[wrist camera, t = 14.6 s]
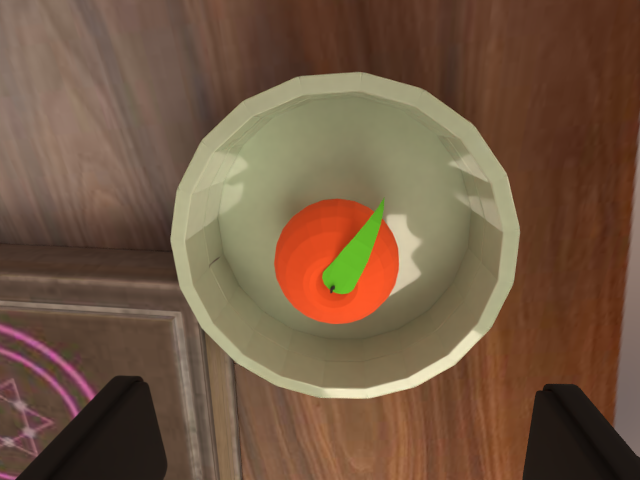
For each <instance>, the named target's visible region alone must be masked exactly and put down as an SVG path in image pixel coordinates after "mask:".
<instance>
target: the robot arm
mask: <svg viewBox="0 0 640 480" xmlns="http://www.w3.org/2000/svg"><path fill="white" fill-rule="evenodd" d="M167 464H168V463H167V457H166V453H165V449H164V445H163V441H162V437H161V433H160V429H159V425H158V420H157V416H156V412H155V408H154V404H153V400H152V396H151V392H150V388H149V385H148V383H147V382H144V380H143V378H142V377H141V376H126V375H118V376H115V377H113V378H112V379H111V380H110V381H109V382H108V383H107V384H106V385H105V386H104V387H103V388H102V389H101V390H100V392H99V393H98V394H97V395H96V396H95V397H94V398H93V399H92V400H91V401H90V402H89V403H88V404H87V405H86V406H85V407H84V408H83V409H82V410H81V411H80V412H79V413H78V414H77V416H76V417H75V418H74V419H73V420H72V421H71V422H70V423H69V424H68V425H67V426H66V427H65V428H64V429H63V430H62V431H61V432H60V433H59V434H58V435H57V436H56V437H55V438H54V439H53V441H52V442H51V443H50V444H49V445H48V446H47V447H46V448H45V449H44V450H43V451H42V452H41V453H40V454H39V455H38V456H37V457H36V458H35V459H34V460H33V461H32V462H31V463H30V465H29V466H28V467H27V468H26V469H25V470H24V471H23V472H22V473H21V474H20V475H19V476H18V477H17V478H16V479H15V480H163V479H164V477H165V475H166V472H167ZM523 480H640V457H638V456H636V454H635V453H634V452H633V451H632V450H631V448H630V447H629V446H628V445H627V444H626V442H625V441H624V440H623V439H622V438H621V436H619V434H618V433H617V432H616V431H615V429H614V428H613V427H612V426H611V425H610V423H609V422H608V421H607V420H606V419H605V417H604V416H603V415H602V414H601V413H600V411H599V410H598V409H597V408H596V407H595V406H594V404H593V403H592V402H591V401H590V400H589V398H588V397H587V396H586V395H585V394H584V392H583V391H582V390H581V389H580V388H579V387H578V386H576V385H574V384H546V385H545V386H544V387H543V391H537V392H536V395H535V401H534V407H533V414H532V420H531V427H530V433H529V439H528V446H527V452H526V459H525V465H524V472H523Z"/></svg>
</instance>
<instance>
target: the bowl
mask: <svg viewBox="0 0 640 480" xmlns="http://www.w3.org/2000/svg"><path fill="white" fill-rule="evenodd" d="M384 197H385V198H384ZM383 198H384V211H383V216H382V219H383V220H384V221H385V223H386V224H387V225H388V227H389V228H390V230H391V231H392V233H393V235H394V237H395V240H396V243H397V246H398V253H399V271H398V276H397V280H396V284H395V286H394V288H393V290H392V291H391V293H390V295H389V297H388V298H387V299H386V300H385V301H384V302H383V303H382V304H381V305H380V306H379V307H378V308H377V309H376V310H375V311H374V312H373V313H371V314H370V315H368V316H366V317H365V318H363V319H361V320H357V321H354V322H351V323H344V324H330V323H324V322H319V321H316V320H314V319H312V318H309V317H307V316H305V315H304V314H302V313H301V312H300V311H298V310H297V309H296V308H294V306H293V305H292V304H291V303H290V302H289V300H288V299H287V298H286V297H285V295H284V293H283V292H282V289H281V287H280V285H279V283H278V281H277V279H276V273H275V267H274V260H275V251H276V245H277V242H278V239H279V237H280V234H281V232H282V230H283V228H284V227H285V226H286V224H287V223H288V222H289V221H290V219H291V218H292V217H293V216H294V215H296V214H297V213H298V212H300V211H301V210H303V209H304V208H305V207H307V206H308V205H311V204H314V203H316V202H319V201H322V200H328V199H345V200H351V201H356V202H358V203H360V204H362V205H364V206H367V207H369V208H370V209H371V210H373V211H374V212H375V211H376V209H377V208H378V206H379V205H380V203H381V202H382V200H383ZM519 229H520V227H519V222H518V218H517V214H516V210H515V205H514V201H513V197H512V193H511V188H510V184H509V180H508V176H507V173H506V172H505V170H504V169H503V167H502V166H501V164H500V163H499V161H498V160H497V158H496V157H495V155H494V154H493V152H492V151H491V149H490V148H489V146H488V145H487V143H486V142H485V140H484V139H483V138H482V136H481V135H480V133H479V132H478V130H477V129H476V127H475V126H473V124H472V123H470V122H469V121H468V120H466V119H465V118H464V117H462V116H461V115H459V114H458V113H457V112H455V111H454V110H452V109H451V108H450V107H448V106H447V105H445V104H444V103H443V102H441V101H440V100H438V99H437V98H436V97H434V96H433V95H431V94H430V93H429V92H427V91H426V90H423V89H422V88H419V87H415V86H412V85H408V84H405V83H401V82H397V81H394V80H390V79H387V78H383V77H379V76H376V75H372V74H369V73H365V72H362V73H361V72H349V73H335V74H321V75H308V76H300V77H295V78H293V79H291V80H288V81H286V82H284V83H282V84H279V85H277V86H275V87H273V88H270V89H268V90H266V91H264V92H261V93H259V94H257V95H255V96H252V97H250V98H248V99H246V100H244V101H243V102H241V103H240V104H239V105H238V106H237V107H236V108H235V109H233V110H232V111H231V112H230V113H229V114H228V115H227V116H226V117H225V118H224V119H223V120H222V121H221V122H220V123H219V124H218V125H217V126H216V127H215V128H214V129H213V130H211V131H210V132H209V133H208V134H207V135H206V136H205V137H204V138H203V139H202V141H201V142H200V144H199V146H198V148H197V150H196V152H195V154H194V156H193V158H192V160H191V162H190V164H189V166H188V168H187V170H186V172H185V174H184V176H183V178H182V180H181V182H180V184H179V186H178V189H177V190H176V198H175V206H174V214H173V222H172V230H171V238H170V239H171V240H170V241H171V246H172V251H173V256H174V261H175V266H176V271H177V276H178V281H179V286H180V289H181V291H182V293H183V295H184V296H185V298H186V300H187V302H188V304H189V306H190V307H191V309H192V311H193V313H194V315H195V317H196V318H197V320H198V322H199V324H200V326H201V328H202V329H203V330H204V331H205V332H206V333H207V334H208V335H209V336H210V337H211V338H212V339H213V340H214V341H215V342H216V343H217V344H218V345H219V346H220V347H221V348H222V349H223V350H224V351H225V352H226V353H227V354H228V355H229V356H230V357H231V358H232V359H233V360H234V361H235V362H236V363H237V364H239V365H241V366H243V367H244V368H246V369H248V370H249V371H251V372H253V373H255V374H256V375H258V376H260V377H262V378H263V379H265V380H267V381H268V382H270V383H272V384H274V385H276V386H279V387H282V388H286V389H289V390H293V391H297V392H300V393H304V394H308V395H311V396H315V397H319V398H359V399H367V398H373V397H377V396H381V395H385V394H389V393H393V392H397V391H402V390H406V389H410V388H413V387H416V386H418V385H420V384H422V383H423V382H425V381H427V380H429V379H430V378H432V377H434V376H436V375H438V374H439V373H441V372H443V371H445V370H447V369H448V368H450V367H452V366H454V365H456V363H457V362H458V361H459V360H460V359H461V358H462V357H463V356H464V355H465V354H466V353H467V352H468V351H469V350H470V349H471V348H472V347H473V346H474V345H475V344H476V343H477V342H478V341H479V340H480V339H481V338H482V337H483V336H484V335H485V334H486V333H487V332H488V331H489V330H490V328H491V327H492V325H493V323H494V321H495V319H496V317H497V315H498V313H499V311H500V309H501V307H502V305H503V303H504V301H505V299H506V297H507V295H508V293H509V291H510V289H511V287H512V285H513V282H514V276H515V268H516V260H517V252H518V244H519V236H520V230H519ZM218 257H220V258H219V259H218V260H216V261H215V262H214V263H212V262H213V261H214V260H215V259H216V258H218ZM211 263H212V264H211ZM209 264H211V265H210V267H209Z"/></svg>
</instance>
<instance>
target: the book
mask: <svg viewBox="0 0 640 480" xmlns="http://www.w3.org/2000/svg"><path fill="white" fill-rule="evenodd" d="M219 258H220V257H218V258H216V259H215V260H214V261H213V262H212V263H214V262H215V261H216V260H218V259H219ZM212 263H211V264H212ZM211 264H209V267H210V265H211ZM118 375H126V376H141V377H142V378H143V380H144V382H147V383H148V385H149V388H150V392H151V396H152V400H153V404H154V408H155V412H156V416H157V420H158V425H159V429H160V433H161V437H162V441H163V445H164V449H165V453H166V457H167V463H168V464H167V472H166V475H165V477H164V479H163V480H243V479H242V467H241V454H240V441H239V428H238V415H237V403H236V390H235V377H234V364H233V359H232V358H231V357H230V356H229V355H228V354H227V353H226V352H225V351H224V350H223V349H222V348H221V347H220V346H219V345H218V344H217V343H216V342H215V341H214V340H213V339H212V338H211V337H210V336H209V335H208V334H207V333H206V332H205V331H204V330H203V329H202V328H201V326H200V324H199V322H198V320H197V318H196V317H195V315H194V313H193V311H192V309H191V307H190V306H189V304H188V302H187V300H186V298H185V296H184V295H183V293H182V291H181V289H180V286H179V281H178V276H177V271H176V266H175V261H174V256H173V252H169V251H147V250H126V249H105V248H83V247H62V246H41V245H19V244H0V480H15V479H16V478H17V477H18V476H19V475H20V474H21V473H22V472H23V471H24V470H25V469H26V468H27V467H28V466H29V465H30V463H31V462H32V461H33V460H34V459H35V458H36V457H37V456H38V455H39V454H40V453H41V452H42V451H43V450H44V449H45V448H46V447H47V446H48V445H49V444H50V443H51V442H52V441H53V439H54V438H55V437H56V436H57V435H58V434H59V433H60V432H61V431H62V430H63V429H64V428H65V427H66V426H67V425H68V424H69V423H70V422H71V421H72V420H73V419H74V418H75V417H76V416H77V414H78V413H79V412H80V411H81V410H82V409H83V408H84V407H85V406H86V405H87V404H88V403H89V402H90V401H91V400H92V399H93V398H94V397H95V396H96V395H97V394H98V393H99V392H100V390H101V389H102V388H103V387H104V386H105V385H106V384H107V383H108V382H109V381H110V380H111V379H112V378H113V377H115V376H118Z"/></svg>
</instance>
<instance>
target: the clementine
mask: <svg viewBox="0 0 640 480" xmlns="http://www.w3.org/2000/svg"><path fill="white" fill-rule="evenodd" d="M384 198H385V197H384ZM384 198H383V200H382V202H381V203H380V205H379V206H378V208H377V209H376V211H375V212H374V211H373V210H371V209H370V208H369V207H367V206H364V205H362V204H360V203H358V202H356V201H351V200H345V199H328V200H322V201H319V202H316V203H314V204H311V205H308V206H307V207H305V208H304V209H303V210H301V211H300V212H298V213H297V214H296V215H294V216H293V217H292V218H291V219H290V221H289V222H288V223H287V224H286V226H285V227H284V228H283V230H282V232H281V234H280V237H279V239H278V242H277V245H276V251H275V260H274V267H275V273H276V279H277V281H278V283H279V285H280V287H281V289H282V292H283V293H284V295H285V297H286V298H287V299H288V300H289V302H290V303H291V304H292V305H293V306H294V308H296V309H297V310H298V311H300V312H301V313H302V314H304V315H305V316H307V317H309V318H312V319H314V320H316V321H319V322H324V323H330V324H344V323H351V322H354V321H357V320H361V319H363V318H365V317H366V316H368V315H370V314H371V313H373V312H374V311H375V310H376V309H377V308H378V307H379V306H380V305H381V304H382V303H383V302H384V301H385V300H386V299H387V298H388V297H389V295H390V293H391V291H392V290H393V288H394V286H395V284H396V280H397V276H398V271H399V253H398V246H397V243H396V240H395V237H394V235H393V233H392V231H391V230H390V228H389V227H388V225H387V224H386V223H385V221H384V220H383V219H382V216H383V211H384Z"/></svg>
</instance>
